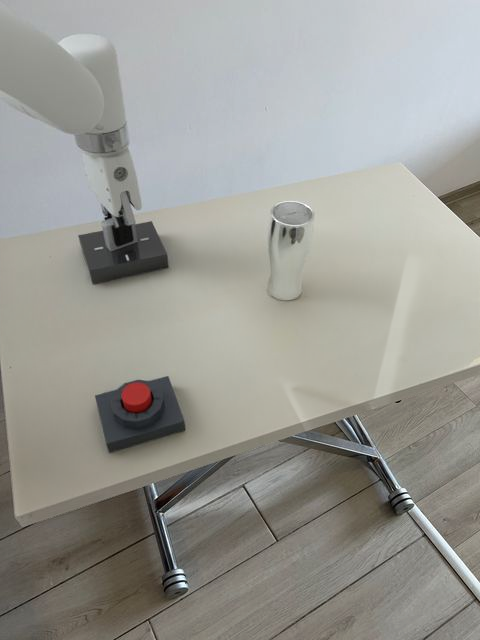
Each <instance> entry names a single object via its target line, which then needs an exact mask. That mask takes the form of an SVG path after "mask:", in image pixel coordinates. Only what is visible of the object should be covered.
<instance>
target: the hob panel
mask: <svg viewBox="0 0 480 640" xmlns="http://www.w3.org/2000/svg"><path fill="white" fill-rule="evenodd" d="M135 229H136V235H137V242H136V243H133V244H131V245H128V246H125V247H122V248H120V249H117V250H114V251H110V250H109V249H108V248H107V247H106V243H105V238H104V233H103V230H98V231H92V232H88V233H83V234H78V241H79V245H80V249H81V252H82V255H83V258H84V261H85V264H86V268H87V271H88V274H89V277H90V280H91V281H90V282H91V284H92V285H96V284H100V283H105V282H106V283H107V282H109V281H110V282H111V281H115V280H119V279H123V278H127V277H133V276H137V275H141V274H146V273H150V272H154V271H155V272H156V271H160V270H164V269H168V268H169V267H170V266H169V259H168V253H167V251H166V249H165V246H164V244H163V243H162V240H161V238H160V236H159V234H158V232H157V231H158V230H157V229H156V227H155V225H154V223H153V221H152V220H150V221H146V222H139V223H135Z"/></svg>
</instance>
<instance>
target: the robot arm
mask: <svg viewBox="0 0 480 640" xmlns="http://www.w3.org/2000/svg"><path fill="white" fill-rule="evenodd" d="M119 67H120V66H119V60H118V55H117V50H116V47H115V46H114V44H113V42H112V41H111V40H110V39H108V38H107V37H105V36H102V35H98V34H94V33H77V34H73V35H68V36H66V37H64V38H63V39H61V40H60V41H58V42H56V40H55V39H53V38H52V37H50V36H49V35H47V33H45V32H44V31H43V30H41V29H40V28H39V27H37V26H36V25H34V24H33V23H32V22H31V21H29V20H27V19H25V17H23V16H22V15H20V14H19V13H18V12H16V11H15V10H13V9H12V8H10V7H9V6H7V5H6V4H5V3H4V2H2V1H1V0H0V99H1V100H2V101H3V102H4V103H6V104H7V105H8V106H9V107H12V109H15V110H16V111H18V112H21V113H22V114H25V115H27V116H29V117H31V118H33V119H35V120H38V121H40V122H41V123H44V124H46V125H48V126H50V127H52V128H54V129H56V130H58V131H59V132H63V133H65V134H68V135H73V136H74V141H75V144H76V148H77V150H78V152H80V153H81V155H82V161H83V166H84V173H85V176H86V180H87V184H88V187H89V189H90V191H91V193H92V195H93V196H94V197H95V198H96V199H97V201H99V203H100V206H101V211H102V214H103V219H104V220H107V219H110V218H112V221H113V225H112V226H111V227H112V232H113V237H114V242H115V245H116V246H117V247H119V246H122V245H124V244H127V243H130V242H132V241H133V240H134V238H133V232H132V225H133V224H137V223H136V218H135V215H134V212H133V209H132V207H133V208H134V209H135V210H136V211H141V210H142V208H143V203H142V197H141V191H140V186H139V181H138V177H137V173H136V168H135V165H134V162H133V161H134V160H133V157H132V154H131V151H130V149H129V147H130V145H131V144H130V135H129V129H128V121H127V116H126V115H127V113H126V107H125V100H124V94H123V87H122V80H121V73H120V68H119ZM122 214H123V216H120V217H119V215H122Z"/></svg>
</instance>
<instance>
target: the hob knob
mask: <svg viewBox="0 0 480 640" xmlns="http://www.w3.org/2000/svg"><path fill="white" fill-rule="evenodd" d="M120 216H123V214H122V215H119V217H120ZM100 224H101V228H102V231H103V233H104V238H105V243H106V247H107V248H108V249H109V250H110V251H114V250H117V249H120V248H122V247H125V246H128V245H131V244H133V243H136V242H137V235H136V229H135V224H136V223H135V224H133V225H132V232H133V238H134V240H133V241H132V242H130V243H127V244H124V245H122V246H119V247H117V246H116V245H115V242H114V237H113V232H112V227H111V226H112V225H113V221H112V218H110V219H107V220H105V219H104V220H101V221H100Z"/></svg>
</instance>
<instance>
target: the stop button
mask: <svg viewBox="0 0 480 640" xmlns="http://www.w3.org/2000/svg"><path fill="white" fill-rule="evenodd" d="M121 397H122V401H123V405H124V407H125V409H126V410H128V411H129V412H132V413H140V412H143V411H145V410H146V409H148V408H149V406H150V405H151V402H152V398H151V393H150V389H149V387H148V386H147V385H145V384H143V383H132V384H129V385H128V386H126V387H125V388H124V389H123V391H122V394H121Z"/></svg>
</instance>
